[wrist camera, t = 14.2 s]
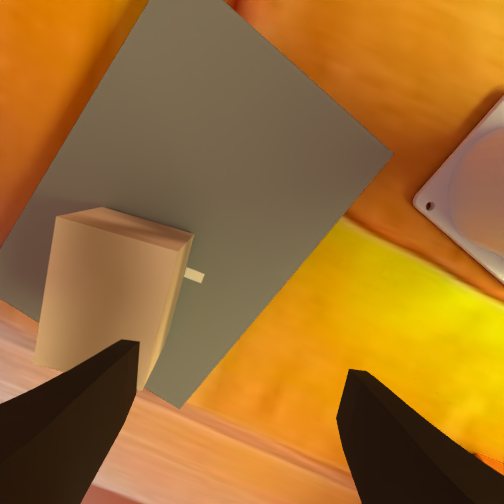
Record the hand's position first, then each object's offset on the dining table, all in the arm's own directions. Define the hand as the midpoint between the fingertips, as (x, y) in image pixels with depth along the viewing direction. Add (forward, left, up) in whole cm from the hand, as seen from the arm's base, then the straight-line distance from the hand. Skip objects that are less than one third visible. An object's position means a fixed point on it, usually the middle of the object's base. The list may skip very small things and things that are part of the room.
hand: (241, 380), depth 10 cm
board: (+6, -1, -9) cm, 11 cm away
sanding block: (+6, +3, -8) cm, 10 cm away
